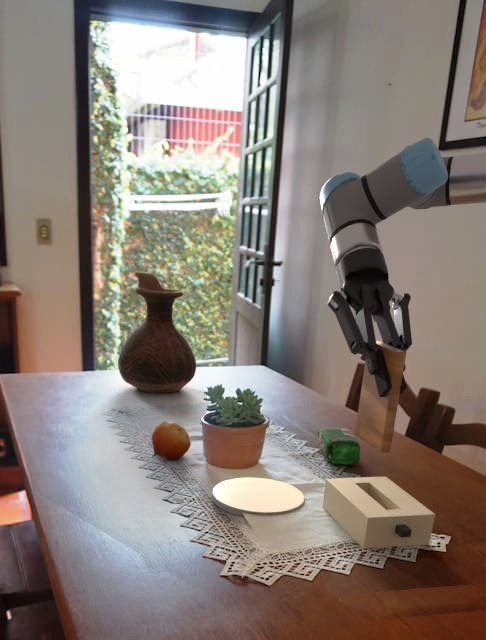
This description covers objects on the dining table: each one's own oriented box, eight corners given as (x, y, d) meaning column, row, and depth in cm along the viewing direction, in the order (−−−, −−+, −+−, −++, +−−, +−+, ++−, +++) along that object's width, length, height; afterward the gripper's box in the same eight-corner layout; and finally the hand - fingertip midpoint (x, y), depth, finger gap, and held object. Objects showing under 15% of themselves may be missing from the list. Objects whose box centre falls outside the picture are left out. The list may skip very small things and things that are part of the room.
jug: (203, 383, 199) (208, 276, 188) (184, 400, 180) (189, 282, 168) (132, 376, 204) (133, 270, 192) (106, 392, 184) (106, 276, 173)
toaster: (380, 508, 119) (385, 476, 117) (435, 555, 103) (442, 519, 101) (321, 511, 116) (325, 478, 114) (368, 560, 100) (374, 523, 98)
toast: (363, 434, 110) (377, 340, 104) (390, 452, 102) (406, 351, 96) (354, 434, 110) (368, 340, 104) (380, 452, 102) (396, 351, 96)
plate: (285, 481, 128) (286, 475, 128) (317, 516, 114) (318, 510, 114) (203, 485, 125) (203, 478, 124) (225, 521, 111) (225, 514, 110)
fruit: (148, 440, 143) (168, 410, 139) (179, 462, 143) (200, 433, 140) (137, 452, 135) (158, 421, 132) (169, 475, 136) (191, 445, 132)
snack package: (346, 446, 151) (349, 423, 149) (361, 470, 137) (364, 445, 135) (314, 444, 151) (317, 421, 149) (326, 468, 136) (328, 443, 135)
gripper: (391, 279, 112) (425, 404, 104) (307, 276, 109) (336, 405, 101) (412, 247, 106) (451, 378, 97) (324, 243, 102) (356, 378, 94)
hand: (392, 392), depth 99 cm, fingers closed on toast, 2 cm apart
